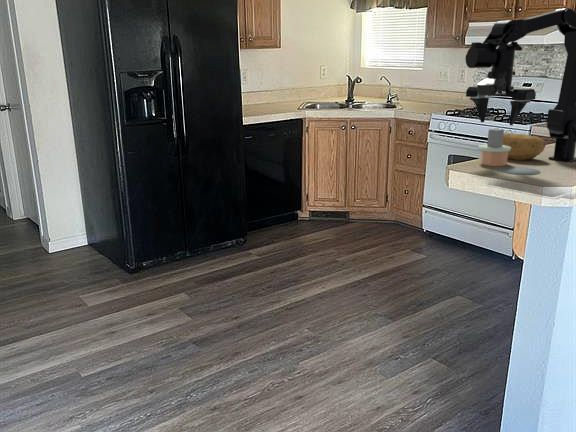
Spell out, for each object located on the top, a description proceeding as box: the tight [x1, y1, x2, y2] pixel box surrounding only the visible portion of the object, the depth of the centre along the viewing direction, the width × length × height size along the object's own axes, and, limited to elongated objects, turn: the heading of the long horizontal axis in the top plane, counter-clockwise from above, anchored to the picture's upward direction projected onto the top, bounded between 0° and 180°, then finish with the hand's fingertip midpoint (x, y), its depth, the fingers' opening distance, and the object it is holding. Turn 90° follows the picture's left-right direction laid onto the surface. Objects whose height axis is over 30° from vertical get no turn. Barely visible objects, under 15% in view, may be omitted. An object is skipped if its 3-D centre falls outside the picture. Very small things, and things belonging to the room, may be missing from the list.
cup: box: [479, 150, 509, 167], centre depth 163 cm, size 7×7×4 cm
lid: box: [477, 128, 511, 152], centre depth 161 cm, size 9×9×6 cm
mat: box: [497, 166, 542, 176], centre depth 153 cm, size 11×11×1 cm
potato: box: [502, 132, 546, 161], centre depth 169 cm, size 10×14×8 cm
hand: (496, 123), depth 160 cm, fingers open, 9 cm apart
